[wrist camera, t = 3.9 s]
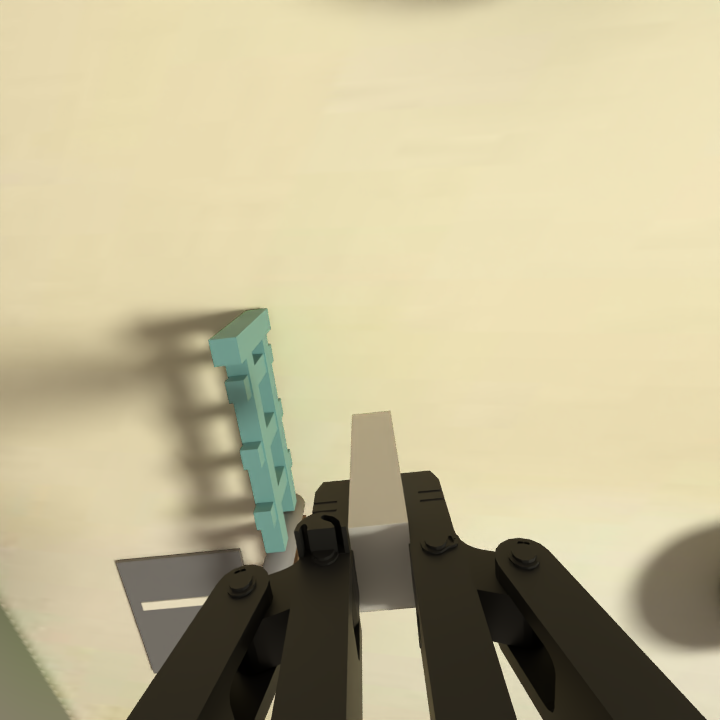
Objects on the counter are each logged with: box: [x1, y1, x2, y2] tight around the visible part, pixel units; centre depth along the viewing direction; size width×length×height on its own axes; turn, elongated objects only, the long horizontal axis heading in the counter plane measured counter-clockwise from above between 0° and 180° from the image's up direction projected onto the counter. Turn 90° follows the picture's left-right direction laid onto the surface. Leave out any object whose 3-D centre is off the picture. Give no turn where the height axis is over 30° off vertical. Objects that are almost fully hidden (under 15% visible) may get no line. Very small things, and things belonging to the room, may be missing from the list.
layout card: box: [116, 549, 244, 673], centre depth 37 cm, size 12×10×1 cm
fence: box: [208, 308, 305, 575], centre depth 28 cm, size 16×2×8 cm, turn 7°
